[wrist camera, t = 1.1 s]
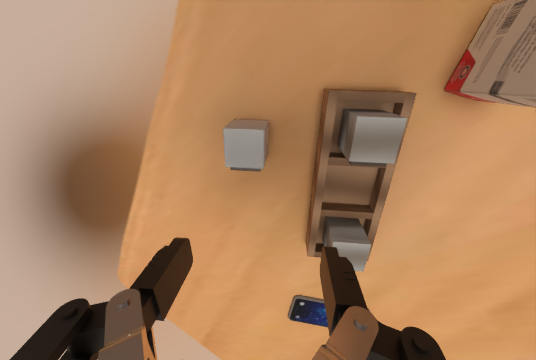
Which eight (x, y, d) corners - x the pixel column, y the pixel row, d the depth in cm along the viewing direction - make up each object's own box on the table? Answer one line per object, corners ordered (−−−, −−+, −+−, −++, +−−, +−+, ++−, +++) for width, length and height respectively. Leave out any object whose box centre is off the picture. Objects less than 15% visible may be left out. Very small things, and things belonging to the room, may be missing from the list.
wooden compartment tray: (324, 89, 27) (336, 92, 20) (401, 91, 26) (440, 95, 19) (305, 240, 37) (309, 277, 30) (360, 245, 36) (377, 283, 29)
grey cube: (235, 119, 29) (222, 128, 24) (268, 120, 29) (264, 130, 24) (236, 155, 31) (225, 171, 26) (267, 156, 31) (263, 173, 26)
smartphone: (294, 296, 42) (372, 310, 42) (294, 291, 43) (370, 306, 43) (286, 320, 45) (359, 334, 45) (286, 316, 46) (357, 329, 46)
